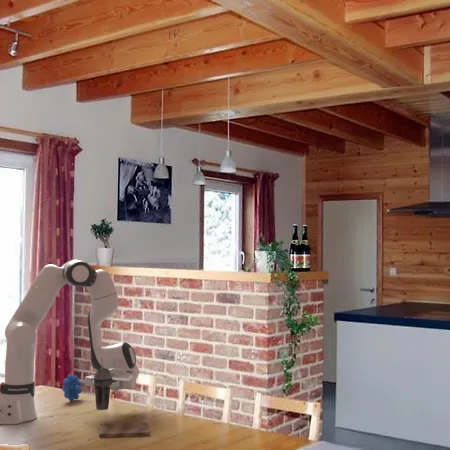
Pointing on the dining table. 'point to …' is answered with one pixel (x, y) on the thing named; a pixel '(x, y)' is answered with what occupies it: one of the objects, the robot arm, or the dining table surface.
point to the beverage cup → (102, 387)
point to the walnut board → (123, 430)
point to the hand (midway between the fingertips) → (101, 385)
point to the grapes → (72, 387)
